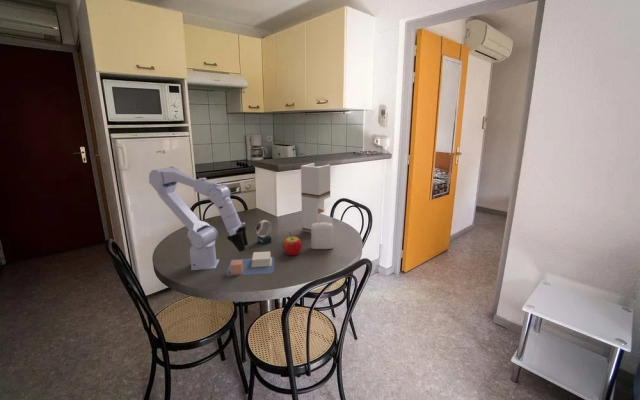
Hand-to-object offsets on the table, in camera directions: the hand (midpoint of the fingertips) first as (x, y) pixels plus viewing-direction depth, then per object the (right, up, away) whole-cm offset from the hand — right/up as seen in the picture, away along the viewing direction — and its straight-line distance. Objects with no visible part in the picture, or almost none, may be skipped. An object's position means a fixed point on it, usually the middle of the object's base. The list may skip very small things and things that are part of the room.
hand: (244, 248), depth 116 cm
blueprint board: (+2, -9, +6) cm, 11 cm away
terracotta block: (-3, -9, +1) cm, 10 cm away
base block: (+5, -7, +9) cm, 13 cm away
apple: (+17, -6, +18) cm, 25 cm away
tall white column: (+27, +2, +47) cm, 54 cm away
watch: (+2, -2, +30) cm, 30 cm away
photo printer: (+30, -4, +24) cm, 39 cm away
